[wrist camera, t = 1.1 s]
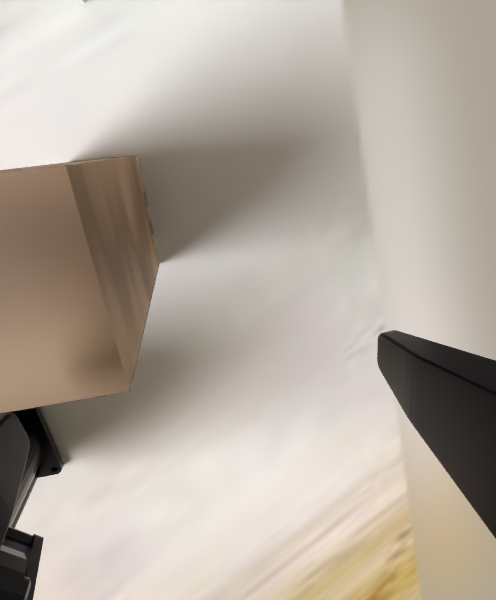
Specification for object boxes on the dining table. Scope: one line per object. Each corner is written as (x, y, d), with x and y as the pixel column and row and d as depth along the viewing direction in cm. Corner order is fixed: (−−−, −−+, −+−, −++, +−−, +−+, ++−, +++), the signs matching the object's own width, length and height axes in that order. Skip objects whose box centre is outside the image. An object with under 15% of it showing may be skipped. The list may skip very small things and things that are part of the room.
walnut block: (159, 264, 21) (129, 391, 10) (98, 271, 20) (-1, 413, 9) (137, 155, 18) (66, 165, 7) (67, 162, 18) (-116, 183, 7)
